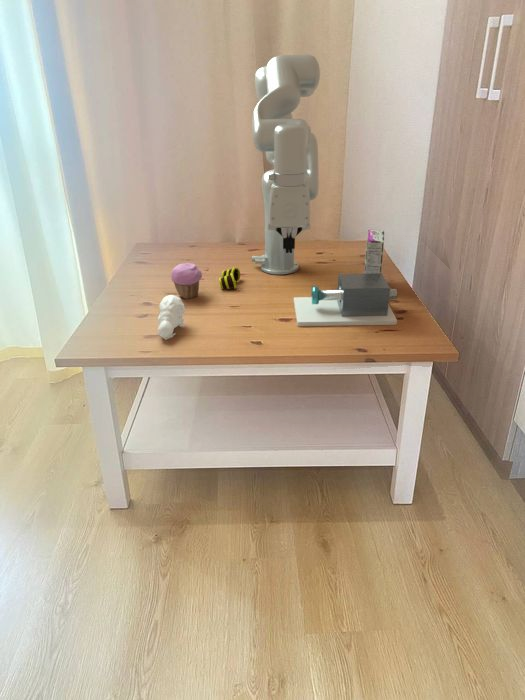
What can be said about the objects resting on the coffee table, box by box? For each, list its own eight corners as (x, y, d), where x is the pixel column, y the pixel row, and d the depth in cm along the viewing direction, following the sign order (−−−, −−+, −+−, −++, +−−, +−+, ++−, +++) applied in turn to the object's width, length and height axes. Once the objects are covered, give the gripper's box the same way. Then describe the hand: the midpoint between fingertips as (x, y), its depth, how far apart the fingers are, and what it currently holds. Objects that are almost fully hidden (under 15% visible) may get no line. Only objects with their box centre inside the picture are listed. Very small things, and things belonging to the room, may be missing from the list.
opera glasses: (226, 281, 171) (222, 267, 169) (242, 279, 170) (238, 264, 168) (220, 293, 163) (216, 278, 161) (237, 291, 162) (233, 275, 160)
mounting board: (297, 326, 141) (297, 322, 140) (293, 301, 155) (293, 297, 154) (396, 324, 141) (397, 320, 140) (383, 299, 155) (384, 295, 154)
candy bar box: (363, 280, 168) (367, 229, 160) (379, 281, 167) (384, 229, 159) (361, 294, 158) (366, 240, 150) (379, 295, 158) (384, 241, 150)
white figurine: (184, 292, 139) (173, 316, 130) (187, 320, 144) (177, 345, 134) (160, 291, 140) (148, 315, 130) (164, 319, 145) (153, 344, 135)
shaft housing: (342, 316, 143) (343, 288, 139) (336, 300, 152) (338, 274, 148) (387, 315, 143) (390, 287, 139) (379, 300, 152) (382, 273, 148)
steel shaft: (312, 307, 144) (313, 290, 142) (311, 300, 149) (311, 283, 146) (396, 305, 144) (398, 289, 142) (392, 298, 149) (394, 282, 146)
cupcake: (208, 296, 159) (206, 263, 154) (185, 304, 154) (182, 271, 149) (190, 288, 165) (187, 256, 160) (167, 296, 159) (163, 264, 154)
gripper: (259, 183, 127) (260, 257, 136) (322, 182, 127) (318, 256, 137) (258, 176, 134) (259, 246, 143) (318, 175, 134) (316, 246, 143)
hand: (288, 251), depth 140 cm, fingers closed
